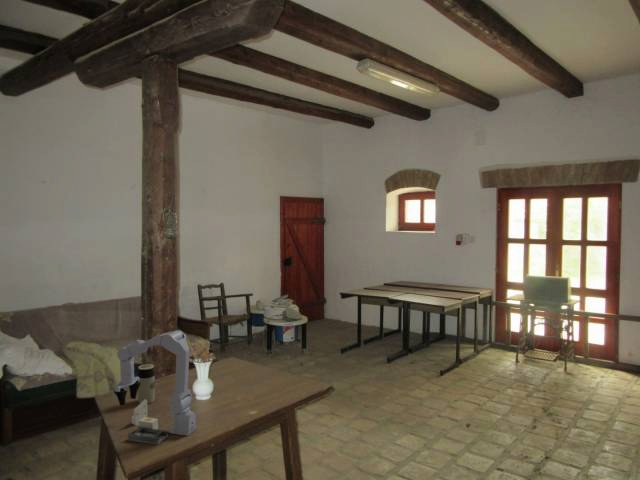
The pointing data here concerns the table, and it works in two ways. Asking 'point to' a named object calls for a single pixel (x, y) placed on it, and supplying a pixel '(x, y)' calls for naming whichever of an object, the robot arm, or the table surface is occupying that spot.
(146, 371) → the travel mug
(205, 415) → the table surface
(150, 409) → the table surface
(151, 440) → the rail mount
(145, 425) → the module
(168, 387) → the table surface
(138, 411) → the white wedge bracket
